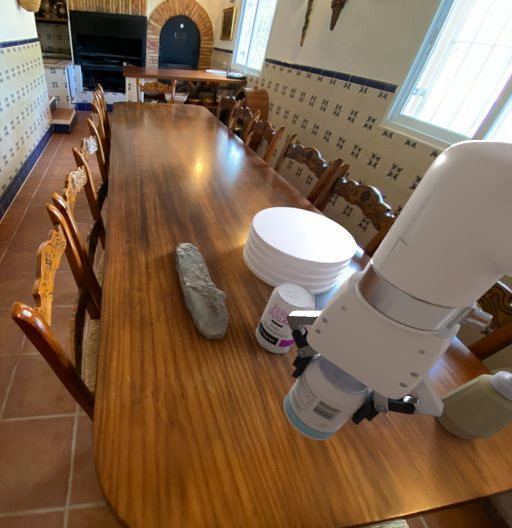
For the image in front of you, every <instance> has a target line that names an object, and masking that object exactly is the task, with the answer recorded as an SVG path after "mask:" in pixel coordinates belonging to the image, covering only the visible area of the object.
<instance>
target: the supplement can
mask: <svg viewBox="0 0 512 528" xmlns="http://www.w3.org/2000/svg"><path fill="white" fill-rule="evenodd" d="M315 305H316V304H315V295H313V294H312V292H311V291H309V290H308V289H307V288H306V287H304V286H302V285H300V284H297V283H293V282H285V283H282V284H280V286H278V287H276V288H275V287H274V289H273V290H272V293H271V295H270V297H269V299H268V301H267V304H266V306H265V309H264V310H263V313H262V316H261V317H260V320H259V322H258V325H257V327H256V329H255V333H254V335H255V338H256V341H257V342H258V343H259V345H260V346H261V347H263V349H265V350H267V351H268V352H271V353H273V354H286V353H287V352H289V351H291V349H292V347H293V346H294V344H295V341H294V339H293V337H292V335H291V334H292V330H291V329H290V327H289V324H288V322H287V319H286V317H287V316H288V315H289V314H290V313H291V312H292V311H315V308H316V306H315ZM303 326H305V325H303Z"/></svg>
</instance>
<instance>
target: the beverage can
mask: <svg viewBox="0 0 512 528" xmlns="http://www.w3.org/2000/svg"><path fill="white" fill-rule="evenodd" d="M370 389H371V388H369V387H368V386H366V385H365V384H363V383H362V382H360V381H359V380H357V379H356V378H354V377H353V376H351V375H350V374H348V373H347V372H345V371H344V370H342V369H341V368H339V367H338V366H336V365H335V364H333V363H332V362H330V361H329V360H328V359H326V358H325V357H323V356H322V355H320V354H315V355H314V356H313V357H312V358H311V359H310V361H309V362H308V364H307V365H306V367H305V368H304V370H303V371H302V373H301V374H300V376H299V377H298V378H296V381H294V383H293V384H292V386H291V388H290V389H289V391H288V392H287V394H286V396H285V398H284V400H283V410H284V414H285V416H286V419H287V420H288V422H289V423H290V425H291V426H292V427H293V429H295V430H296V432H298V433H299V434H300V435H303V436H304V437H306V438H308V439H311V440H315V441H325V440H329V439H330V438H332V437H333V436H334V435H335V434H336V433H337V432H338V431H339V430H340V429H341V428H342V427H343V426H344V425H345V424H346V423H347V422H348V421H349V420H350V419H352V417H353V415H354V414H355V413H356V412H357V411H358V410H359V409H360V408H361V407H362V406H363V405H364V404H365V403H366V402H367V400H368V398H369V395H370V393H371V390H370Z"/></svg>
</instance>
